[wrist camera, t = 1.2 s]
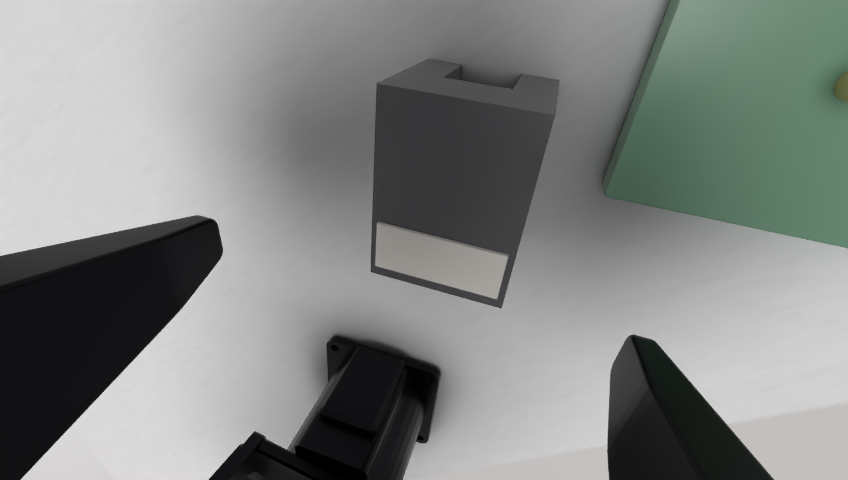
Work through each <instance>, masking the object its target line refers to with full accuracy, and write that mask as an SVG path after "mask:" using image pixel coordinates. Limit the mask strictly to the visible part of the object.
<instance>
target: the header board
mask: <svg viewBox="0 0 848 480" xmlns="http://www.w3.org/2000/svg"><path fill="white" fill-rule="evenodd" d="M602 184H603V190H604V196H606V197H611V198H615V199H620V200H625V201H629V202H634V203H639V204H643V205H648V206H653V207H657V208H662V209H667V210H672V211H676V212H681V213H686V214H690V215H695V216H700V217H704V218H709V219H714V220H718V221H723V222H728V223H732V224H737V225H742V226H747V227H751V228H756V229H761V230H765V231H770V232H775V233H779V234H784V235H789V236H793V237H798V238H803V239H807V240H812V241H817V242H822V243H826V244H831V245H836V246H840V247H845V248H848V0H670V3H669V5H668V8H667V11H666V13H665V16H664V19H663V21H662V24H661V27H660V29H659V32H658V35H657V37H656V40H655V43H654V45H653V48H652V51H651V53H650V56H649V59H648V61H647V64H646V67H645V69H644V72H643V75H642V77H641V80H640V83H639V85H638V88H637V91H636V93H635V96H634V99H633V101H632V104H631V107H630V109H629V112H628V115H627V117H626V120H625V123H624V125H623V128H622V131H621V133H620V136H619V139H618V141H617V144H616V147H615V149H614V152H613V155H612V157H611V160H610V163H609V165H608V168H607V171H606V173H605V176H604V179H603V181H602Z"/></svg>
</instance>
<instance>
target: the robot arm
mask: <svg viewBox="0 0 848 480" xmlns="http://www.w3.org/2000/svg"><path fill="white" fill-rule="evenodd" d="M222 253H223V247H222V242H221V237H220V233H219V228H218V224H217V223H216V221H215V220H213V219H211V218H207V217H204V216H199V215H196V216H191V217H186V218H181V219H176V220H171V221H167V222H162V223H157V224H152V225H147V226H142V227H138V228H133V229H128V230H123V231H118V232H114V233H109V234H104V235H99V236H94V237H90V238H85V239H80V240H75V241H70V242H65V243H61V244H56V245H51V246H46V247H41V248H37V249H32V250H27V251H22V252H17V253H13V254H8V255H3V256H0V480H20V479H21V478H22V477H23V476H24V475H25V474H26V473H27V472H28V471H29V470H30V469H31V468H32V467H33V466H34V465H35V464H36V463H37V461H38V460H39V459H40V458H41V457H42V456H43V455H44V454H45V453H46V452H47V451H48V450H49V449H50V448H51V447H52V446H53V445H54V443H55V442H56V441H57V440H58V439H59V438H60V437H61V436H62V435H63V434H64V433H65V432H66V431H67V430H68V429H69V428H70V427H71V426H72V424H73V423H74V422H75V421H76V420H77V419H78V418H79V417H80V416H81V415H82V414H83V413H84V412H85V411H86V410H87V409H88V408H89V406H90V405H91V404H92V403H93V402H94V401H95V400H96V399H97V398H98V397H99V396H100V395H101V394H102V393H103V392H104V391H105V390H106V388H107V387H108V386H109V385H110V384H111V383H112V382H113V381H114V380H115V379H116V378H117V377H118V376H119V375H120V374H121V373H122V372H123V370H124V369H125V368H126V367H127V366H128V365H129V364H130V363H131V362H132V361H133V360H134V359H135V358H136V357H137V356H138V355H139V354H140V353H141V351H142V350H143V349H144V348H145V347H146V346H147V345H148V344H149V343H150V342H151V341H152V340H153V339H154V338H155V337H156V336H157V335H158V333H159V332H160V331H161V330H162V329H163V328H164V327H165V326H166V325H167V324H168V323H169V322H170V321H171V320H172V319H173V318H174V316H175V315H176V314H177V313H178V312H179V311H180V310H181V309H182V307H183V306H184V305H185V304H186V302H187V301H188V300H189V299H190V297H191V296H192V295H193V294H194V292H195V291H196V290H197V288H198V287H199V286H200V285H201V283H202V282H203V281H204V279H205V278H206V277H207V276H208V274H209V273H210V272H211V270H212V269H213V268H214V267H215V265H216V264H217V263H218V261H219V260H220V259H221V256H222ZM327 362H328V384H327V386H326V387H325V389H324V391H323V392H322V394H321V396H320V397H319V399H318V400H317V402H316V404H315V405H314V407H313V408H312V410H311V412H310V413H309V415H308V416H307V418H306V420H305V421H304V423H303V424H302V426H301V428H300V429H299V431H298V433H297V434H296V436H295V437H294V439H293V441H292V442H291V444H290V445H289V447H288V449H287V450H286V449H284V448H282V447H280V446H278V445H276V444H274V443H272V442H270V441H268V440H267V439H265V438H266V437H265V436H264V435H262V434H260V433H258V432H256V431H255V432H254V433H253V434H252V435H251V436H250V437H249V438H248V439H247V441H246V442H245V443H244V444H241V445H239V446H238V447H237V448H236V450H235V451H234V452H233V453H232V454H231V455H230V456H229V457H228V458H227V460H226V461H225V462H224V463H223V464H222V465H221V466H220V467H219V469H218V470H217V471H216V472H215V473H214V474H213V475H212V476H211V478H210V479H209V480H403V477H404V474H405V471H406V468H407V465H408V462H409V459H410V456H411V454H412V451H413V448H414V445H415V442H419V443H426V442H427V441H428V439H429V435H430V431H431V425H432V420H433V415H434V409H435V404H436V399H437V393H438V388H439V383H440V377H441V374H440V372H439V371H438V370H437V369H436V368H434V367H431V366H428V365H425V364H422V363H419V362H416V361H412V360H409V359H406V358H403V357H400V356H397V355H394V354H391V353H387V352H384V351H381V350H378V349H375V348H372V347H369V346H365V345H362V344H359V343H356V342H353V341H350V340H347V339H344V338H340V337H337V336H333V337H331V338H330V340H329V341H328V343H327ZM607 453H608V470H609V480H774V479H773V478H772V477H771V475H770V474H769V473H768V472H767V471H766V470H765V468H764V467H763V466H762V465H761V464H760V463H759V462H758V460H757V459H756V458H755V457H754V456H753V455H752V453H751V452H750V451H749V450H748V449H747V447H745V445H744V444H743V443H742V442H741V441H740V439H739V438H738V437H737V436H736V435H735V434H734V432H733V431H732V430H731V429H730V428H729V427H728V425H727V424H726V423H725V422H724V421H723V420H722V418H721V417H720V416H719V415H718V414H717V413H716V411H715V410H714V409H713V408H712V407H711V406H710V404H709V403H708V402H707V401H706V400H705V399H704V397H703V396H702V395H701V394H700V393H699V392H698V390H697V389H696V388H695V387H694V386H693V385H692V383H691V382H690V381H689V380H688V379H687V378H686V376H685V375H684V374H683V373H682V372H681V371H680V369H679V368H678V367H677V366H676V365H675V364H674V362H673V361H672V360H671V359H670V358H669V357H668V355H667V354H666V353H665V352H664V351H663V350H662V348H661V347H660V346H659V345H658V344H657V343H656V342H655V341H654V340H651V339H648V338H644V337H641V336H637V335H630V336H629V337H628V338H627V339H626V340H625V342H624V344H623V346H622V348H621V350H620V352H619V353H618V355H617V357H616V359H615V361H614V363H613V365H612V369H611V375H610V396H609V420H608V450H607Z"/></svg>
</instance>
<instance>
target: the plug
mask: <svg viewBox="0 0 848 480" xmlns="http://www.w3.org/2000/svg"><path fill="white" fill-rule="evenodd" d="M461 71H462V65H461V64H455V63H449V62H443V61H437V60H430V59H427V60H425V61H423V62H421V63H419V64H417V65H415V66H413V67H410V68H408V69H406V70H404V71H402V72H400V73H398V74H395V75H393V76H391V77H389V78H387V79H385V80H383V81H381V82H378V83H377V92H376V122H375V153H374V183H373V213H372V244H371V272H373V273H376V274H380V275H384V276H387V277H391V278H394V279H398V280H401V281H405V282H409V283H412V284H416V285H419V286H423V287H426V288H430V289H434V290H437V291H441V292H444V293H448V294H451V295H455V296H459V297H462V298H466V299H469V300H473V301H476V302H480V303H484V304H487V305H491V306H494V307H498V308H502V305H503V301H504V297H505V294H506V290H507V286H508V283H509V279H510V276H511V272H512V268H513V265H514V261H515V258H516V254H517V250H518V247H519V243H520V239H521V236H522V232H523V229H524V225H525V221H526V218H527V214H528V211H529V207H530V203H531V200H532V196H533V192H534V189H535V185H536V182H537V178H538V174H539V171H540V167H541V164H542V160H543V156H544V153H545V149H546V145H547V142H548V138H549V135H550V131H551V127H552V124H553V120H554V117H555V111H556V103H557V95H558V88H559V80H554V79H548V78H541V77H535V76H529V75H523V74H522V75H521V77H520V78H519V80H518V82H517V83H516V85H515V87H514V88H513V89H509V88H503V87H497V86H491V85H485V84H480V83H474V82H468V81H462V80H460V78H461Z"/></svg>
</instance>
